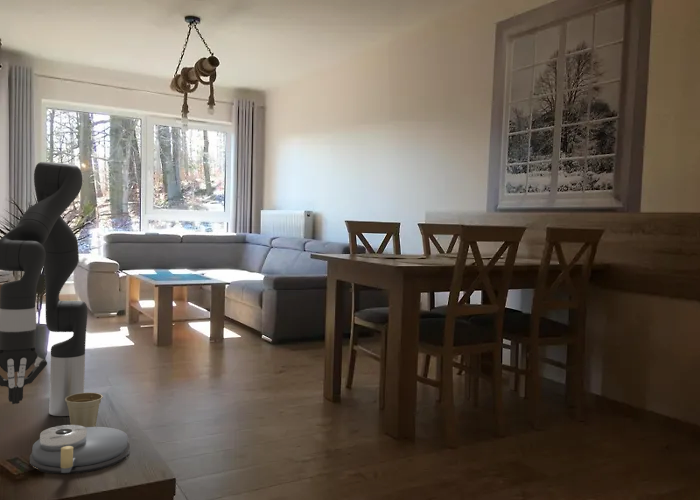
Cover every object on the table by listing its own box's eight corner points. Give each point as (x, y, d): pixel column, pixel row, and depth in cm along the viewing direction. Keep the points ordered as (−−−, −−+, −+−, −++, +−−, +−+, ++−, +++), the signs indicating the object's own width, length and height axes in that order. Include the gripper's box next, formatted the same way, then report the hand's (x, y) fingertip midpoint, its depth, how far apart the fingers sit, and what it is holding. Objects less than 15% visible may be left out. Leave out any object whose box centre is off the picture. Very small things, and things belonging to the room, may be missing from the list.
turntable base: (25, 448, 142) (25, 443, 142) (119, 433, 154) (119, 429, 154) (34, 481, 124) (34, 476, 124) (139, 462, 136) (139, 457, 136)
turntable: (28, 442, 142) (29, 418, 142) (117, 429, 154) (118, 407, 154) (39, 482, 121) (39, 454, 120) (141, 463, 132) (142, 438, 132)
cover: (37, 441, 138) (38, 428, 138) (82, 434, 144) (83, 422, 144) (42, 455, 130) (42, 441, 130) (89, 447, 136) (90, 434, 135)
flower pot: (87, 435, 152) (88, 403, 152) (56, 432, 154) (57, 400, 154) (108, 424, 161) (109, 394, 161) (79, 421, 163) (80, 391, 163)
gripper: (47, 323, 137) (45, 395, 138) (-18, 326, 130) (-20, 402, 130) (51, 328, 131) (49, 403, 131) (-17, 332, 124) (-19, 411, 124)
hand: (15, 402), depth 131 cm, fingers closed
